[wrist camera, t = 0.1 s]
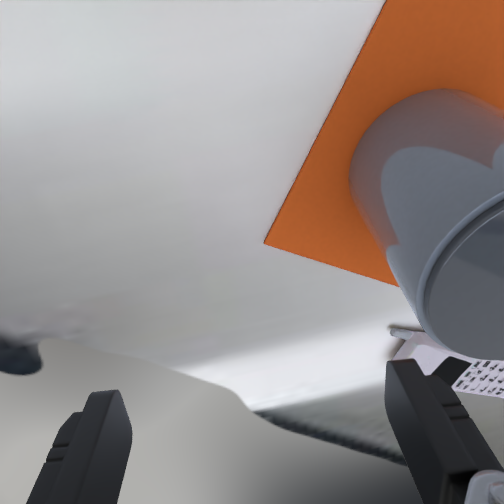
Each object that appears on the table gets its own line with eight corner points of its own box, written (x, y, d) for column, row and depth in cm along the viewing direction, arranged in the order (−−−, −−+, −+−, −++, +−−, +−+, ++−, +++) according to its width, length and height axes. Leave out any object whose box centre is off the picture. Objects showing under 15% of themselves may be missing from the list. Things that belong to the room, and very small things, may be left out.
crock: (404, 60, 28) (540, 130, 16) (536, 125, 31) (732, 224, 19) (321, 207, 34) (375, 337, 22) (438, 248, 37) (541, 383, 25)
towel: (428, -84, 24) (431, -85, 24) (639, 45, 29) (643, 46, 28) (263, 242, 36) (264, 244, 36) (430, 295, 41) (432, 297, 41)
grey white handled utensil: (580, 437, 46) (386, 404, 40) (545, 392, 51) (367, 358, 45) (622, 404, 43) (418, 364, 37) (580, 360, 48) (395, 318, 42)
